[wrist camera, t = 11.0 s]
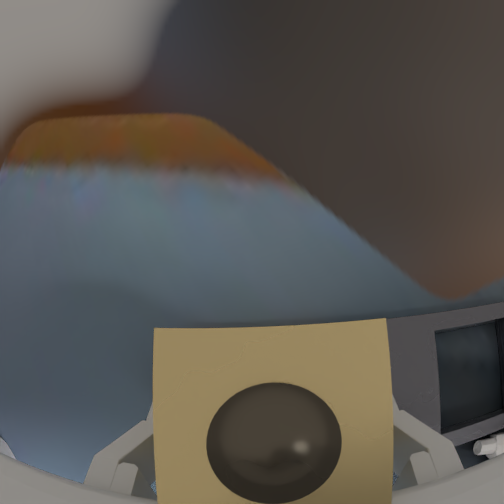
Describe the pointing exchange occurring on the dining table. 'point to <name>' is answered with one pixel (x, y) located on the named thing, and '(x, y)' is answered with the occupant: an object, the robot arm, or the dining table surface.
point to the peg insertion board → (426, 367)
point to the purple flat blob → (490, 446)
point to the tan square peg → (273, 414)
